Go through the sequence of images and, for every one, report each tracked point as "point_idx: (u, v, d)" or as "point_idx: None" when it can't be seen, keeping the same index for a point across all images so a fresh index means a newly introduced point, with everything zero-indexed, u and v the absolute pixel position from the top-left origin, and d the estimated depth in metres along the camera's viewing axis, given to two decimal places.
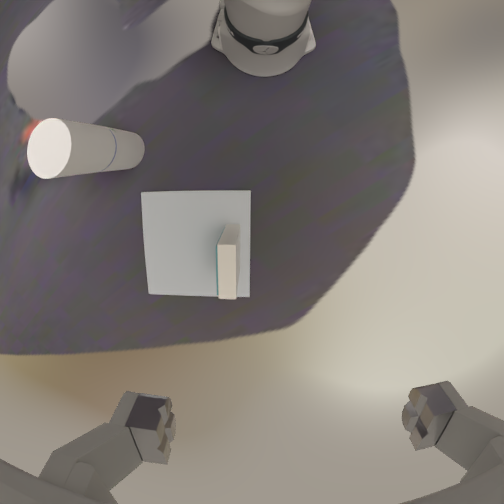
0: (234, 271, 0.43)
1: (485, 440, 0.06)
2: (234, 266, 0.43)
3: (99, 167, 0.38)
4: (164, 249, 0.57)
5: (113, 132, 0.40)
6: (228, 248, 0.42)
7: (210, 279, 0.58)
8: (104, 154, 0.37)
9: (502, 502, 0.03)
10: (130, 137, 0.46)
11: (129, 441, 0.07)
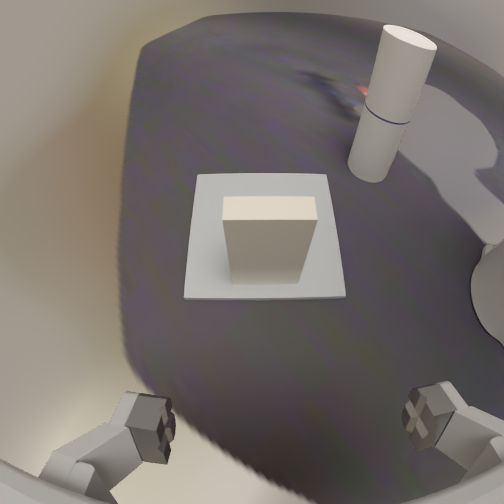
0: (272, 217, 0.26)
1: (485, 440, 0.06)
2: (281, 217, 0.26)
3: (378, 99, 0.34)
4: (257, 193, 0.45)
5: (406, 126, 0.37)
6: (310, 210, 0.26)
7: (215, 244, 0.41)
8: (395, 102, 0.33)
9: (502, 502, 0.03)
10: (392, 156, 0.42)
11: (129, 441, 0.07)
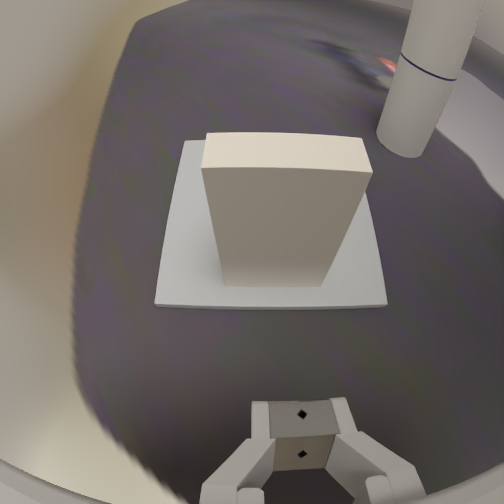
0: (293, 164, 0.14)
1: (370, 476, 0.06)
2: (309, 165, 0.14)
3: (421, 46, 0.22)
4: None
5: (453, 84, 0.25)
6: (358, 156, 0.14)
7: (202, 229, 0.29)
8: (442, 49, 0.21)
9: (502, 502, 0.03)
10: (434, 123, 0.30)
11: (272, 453, 0.07)
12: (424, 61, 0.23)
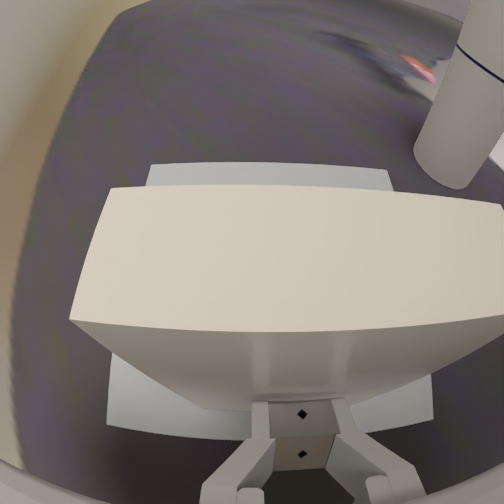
0: (376, 313, 0.04)
1: (371, 475, 0.06)
2: (421, 311, 0.04)
3: (492, 40, 0.12)
4: None
5: None
6: None
7: None
8: None
9: (502, 502, 0.03)
10: (493, 146, 0.20)
11: (272, 453, 0.07)
12: (495, 62, 0.13)
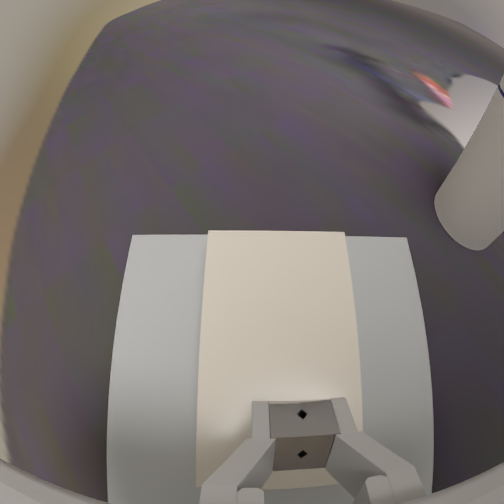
0: None
1: (370, 476, 0.06)
2: None
3: None
4: None
5: None
6: None
7: (162, 425, 0.15)
8: None
9: (502, 502, 0.03)
10: None
11: (272, 453, 0.07)
12: None
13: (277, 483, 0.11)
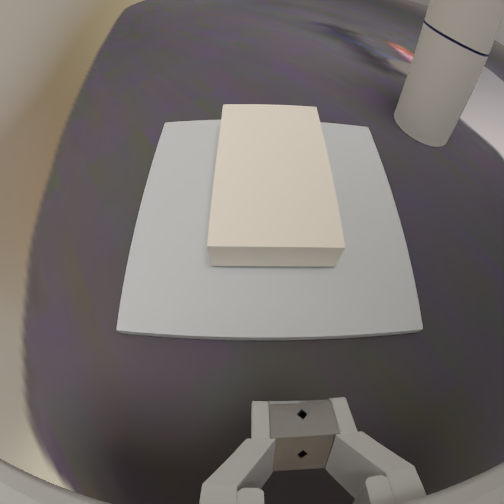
0: None
1: (370, 475, 0.06)
2: None
3: (450, 12, 0.15)
4: None
5: (485, 61, 0.18)
6: None
7: (180, 230, 0.21)
8: (475, 17, 0.14)
9: (502, 502, 0.03)
10: (463, 106, 0.23)
11: (272, 453, 0.07)
12: (455, 30, 0.16)
13: (274, 241, 0.18)
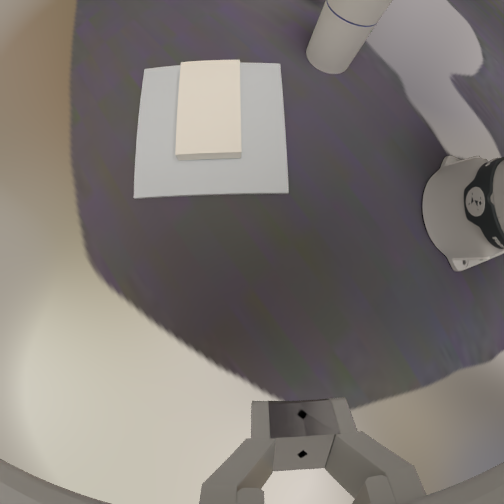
0: None
1: (370, 475, 0.06)
2: None
3: (341, 0, 0.25)
4: None
5: (372, 28, 0.29)
6: None
7: (161, 142, 0.38)
8: (359, 6, 0.24)
9: (502, 502, 0.03)
10: (354, 52, 0.35)
11: (272, 453, 0.07)
12: (342, 12, 0.27)
13: (206, 150, 0.36)
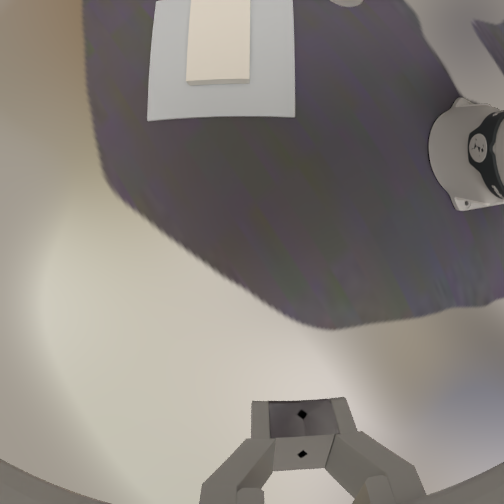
0: None
1: (370, 475, 0.06)
2: None
3: None
4: None
5: None
6: None
7: (173, 69, 0.36)
8: None
9: (502, 502, 0.03)
10: None
11: (272, 453, 0.07)
12: None
13: (215, 77, 0.34)
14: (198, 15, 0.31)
